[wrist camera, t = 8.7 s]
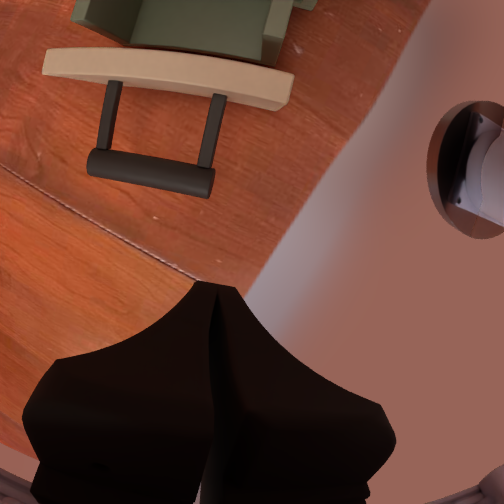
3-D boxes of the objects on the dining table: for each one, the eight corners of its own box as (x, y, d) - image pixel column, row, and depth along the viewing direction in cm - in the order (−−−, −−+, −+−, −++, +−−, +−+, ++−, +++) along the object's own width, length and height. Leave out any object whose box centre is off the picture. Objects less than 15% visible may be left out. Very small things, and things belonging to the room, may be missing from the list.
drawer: (256, 190, 19) (256, 227, 12) (92, 158, 18) (27, 179, 12) (321, -59, 12) (344, -117, 6) (160, -77, 11) (129, -131, 5)
